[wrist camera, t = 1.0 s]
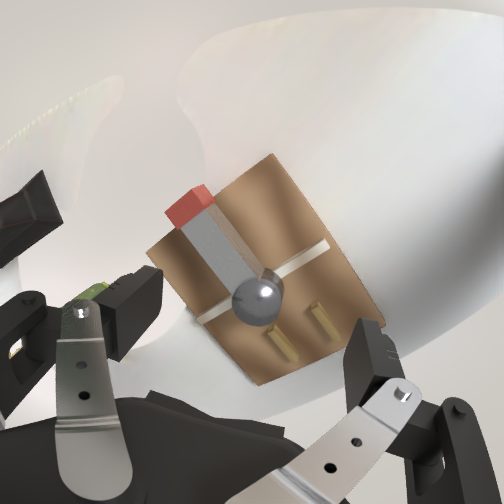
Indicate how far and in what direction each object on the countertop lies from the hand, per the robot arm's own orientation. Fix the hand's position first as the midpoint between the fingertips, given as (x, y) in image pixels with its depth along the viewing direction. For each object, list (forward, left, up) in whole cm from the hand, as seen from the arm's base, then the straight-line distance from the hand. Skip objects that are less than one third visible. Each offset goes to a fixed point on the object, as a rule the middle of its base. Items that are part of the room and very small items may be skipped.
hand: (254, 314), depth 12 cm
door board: (+8, +6, -21) cm, 23 cm away
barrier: (+37, -23, -21) cm, 49 cm away
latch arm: (+7, 0, -17) cm, 18 cm away
